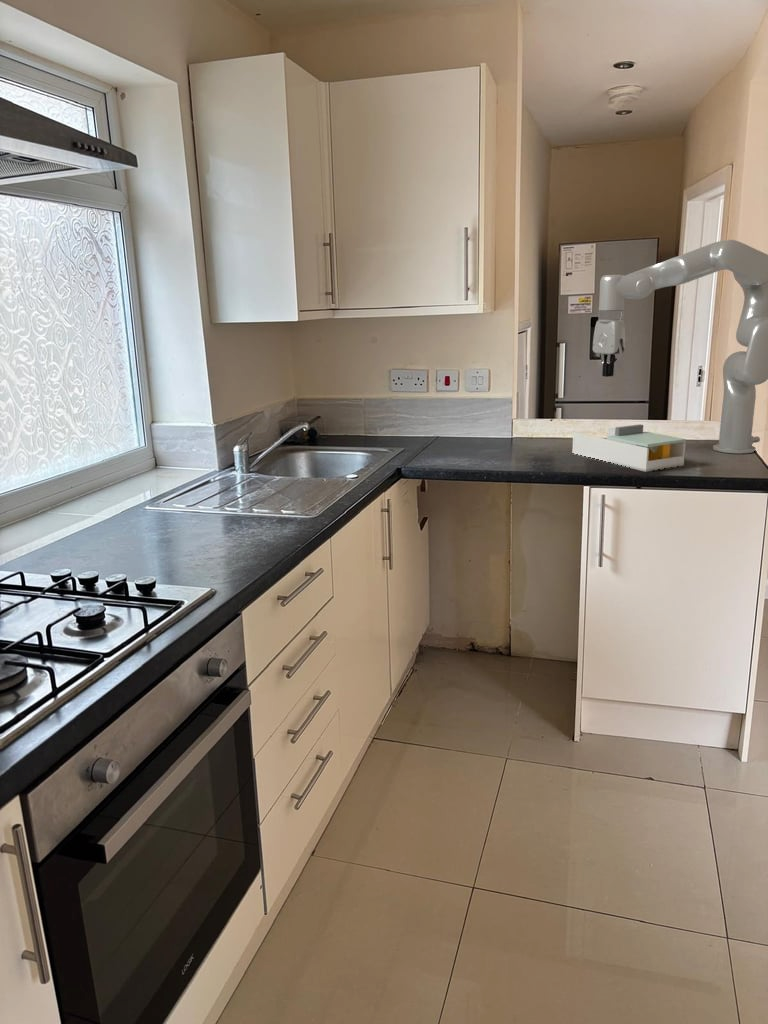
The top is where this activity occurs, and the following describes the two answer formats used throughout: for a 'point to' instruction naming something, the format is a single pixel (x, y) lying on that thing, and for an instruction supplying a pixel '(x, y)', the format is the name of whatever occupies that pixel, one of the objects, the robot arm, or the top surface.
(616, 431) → the lid
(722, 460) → the top surface
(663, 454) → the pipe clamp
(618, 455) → the housing
